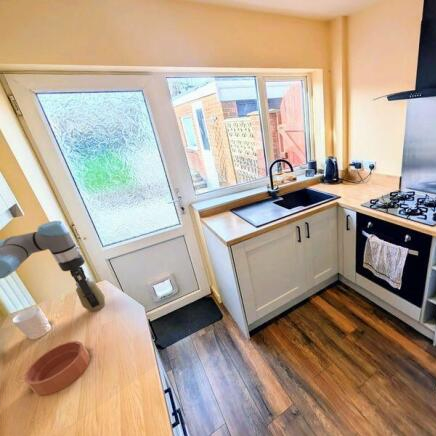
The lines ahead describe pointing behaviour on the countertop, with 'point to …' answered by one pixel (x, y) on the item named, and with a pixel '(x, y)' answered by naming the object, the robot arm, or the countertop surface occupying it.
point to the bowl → (57, 368)
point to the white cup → (32, 322)
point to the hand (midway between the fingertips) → (94, 301)
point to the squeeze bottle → (97, 293)
